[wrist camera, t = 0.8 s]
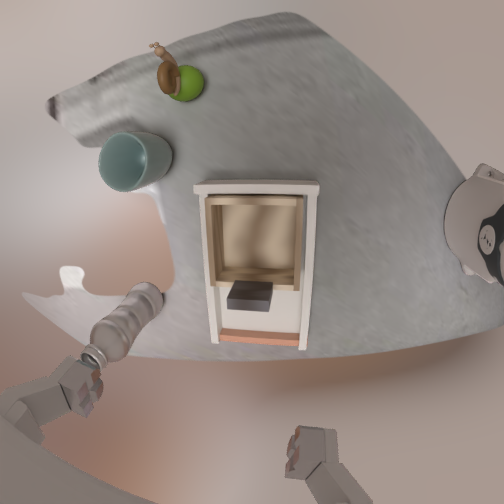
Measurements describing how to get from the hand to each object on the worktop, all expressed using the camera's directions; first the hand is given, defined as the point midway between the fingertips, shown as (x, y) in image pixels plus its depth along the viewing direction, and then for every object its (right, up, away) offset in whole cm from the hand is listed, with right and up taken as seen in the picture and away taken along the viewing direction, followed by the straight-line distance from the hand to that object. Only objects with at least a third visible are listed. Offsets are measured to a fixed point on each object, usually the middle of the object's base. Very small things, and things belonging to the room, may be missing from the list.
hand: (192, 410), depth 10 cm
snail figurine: (-7, +31, +27) cm, 42 cm away
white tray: (+4, +4, +35) cm, 36 cm away
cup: (-12, +21, +32) cm, 40 cm away
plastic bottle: (-16, -2, +41) cm, 44 cm away
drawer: (+3, +9, +32) cm, 34 cm away
